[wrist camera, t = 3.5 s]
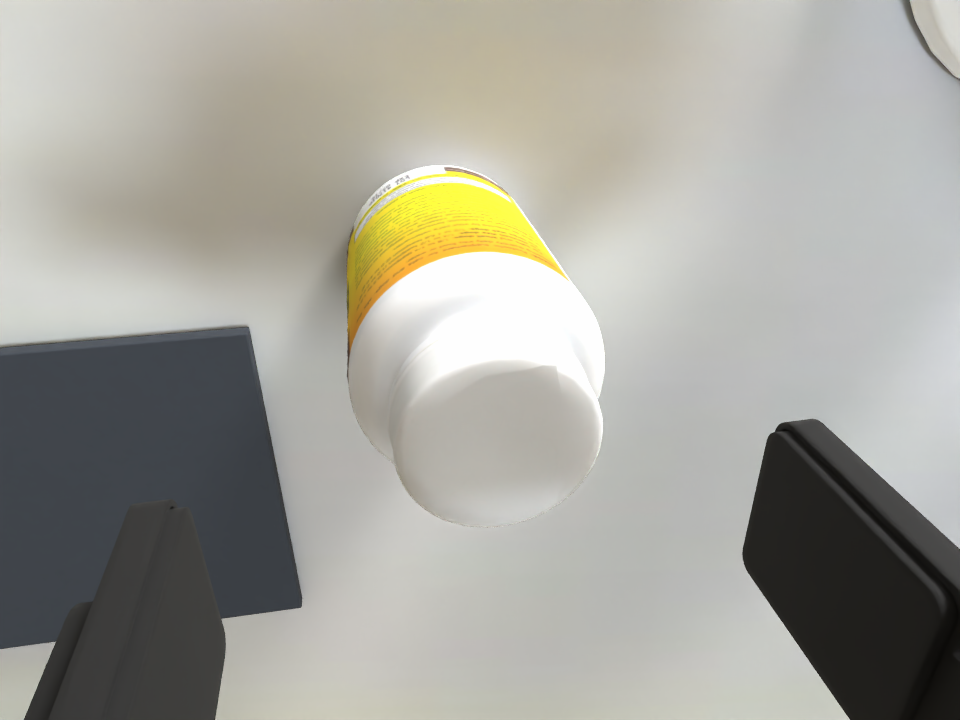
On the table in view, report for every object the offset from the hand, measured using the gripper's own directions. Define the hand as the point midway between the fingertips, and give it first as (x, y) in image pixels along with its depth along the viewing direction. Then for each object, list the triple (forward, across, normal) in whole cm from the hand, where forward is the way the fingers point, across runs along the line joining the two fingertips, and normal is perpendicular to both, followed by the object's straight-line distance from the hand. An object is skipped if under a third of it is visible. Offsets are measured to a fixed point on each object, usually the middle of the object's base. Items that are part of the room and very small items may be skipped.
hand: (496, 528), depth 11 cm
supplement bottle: (+12, -1, 0) cm, 12 cm away
